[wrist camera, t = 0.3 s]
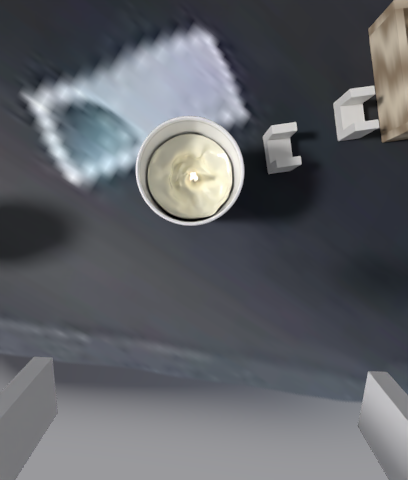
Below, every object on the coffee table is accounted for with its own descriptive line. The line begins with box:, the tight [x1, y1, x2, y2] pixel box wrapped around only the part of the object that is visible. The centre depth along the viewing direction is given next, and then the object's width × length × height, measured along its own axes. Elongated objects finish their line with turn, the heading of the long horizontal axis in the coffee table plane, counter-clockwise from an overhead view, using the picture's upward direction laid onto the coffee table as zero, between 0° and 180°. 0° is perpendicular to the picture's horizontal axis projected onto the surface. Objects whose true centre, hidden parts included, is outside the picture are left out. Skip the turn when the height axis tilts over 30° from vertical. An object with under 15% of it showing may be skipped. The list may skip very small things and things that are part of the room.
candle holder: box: [136, 116, 244, 226], centre depth 32 cm, size 10×10×12 cm
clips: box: [263, 86, 379, 174], centre depth 36 cm, size 8×13×4 cm, turn 99°
